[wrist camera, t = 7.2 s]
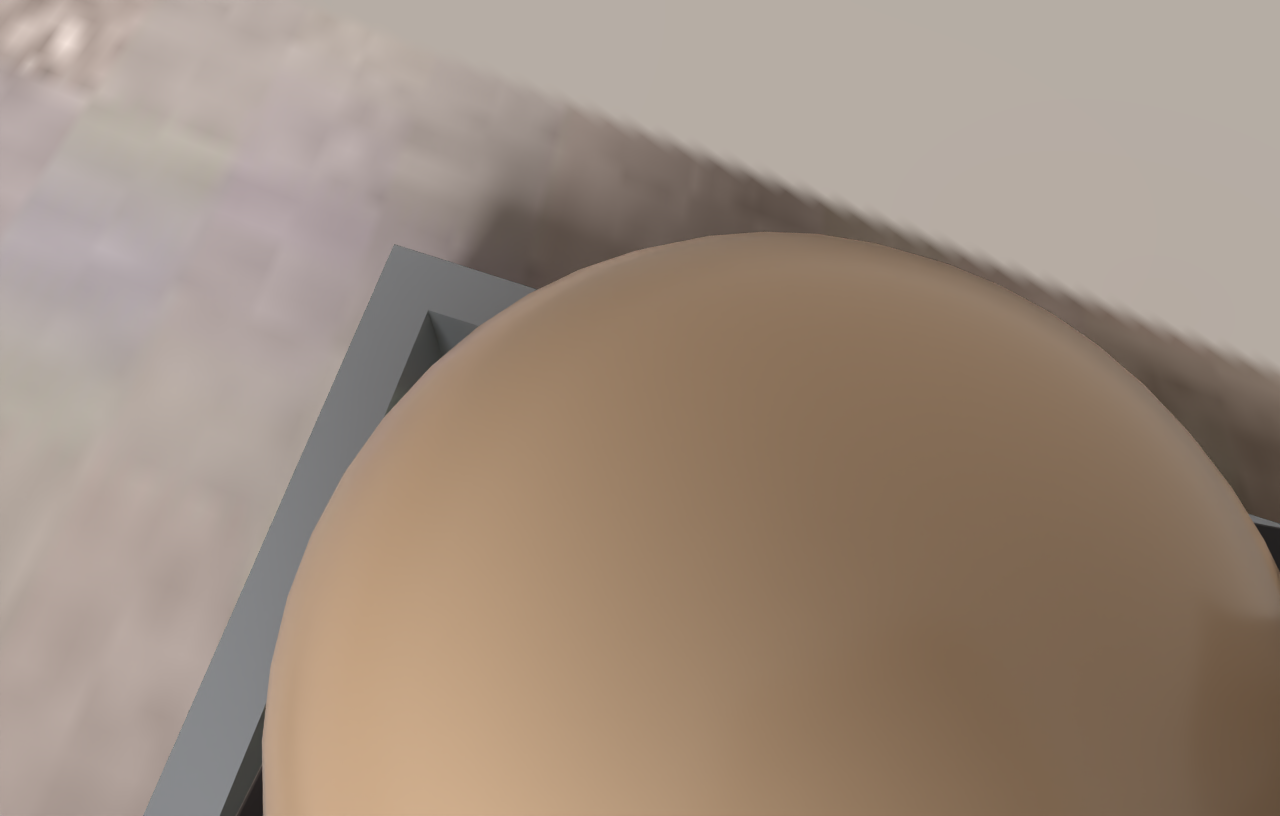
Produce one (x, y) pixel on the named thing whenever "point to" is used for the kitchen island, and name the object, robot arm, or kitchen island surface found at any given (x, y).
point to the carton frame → (358, 400)
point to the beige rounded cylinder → (778, 564)
